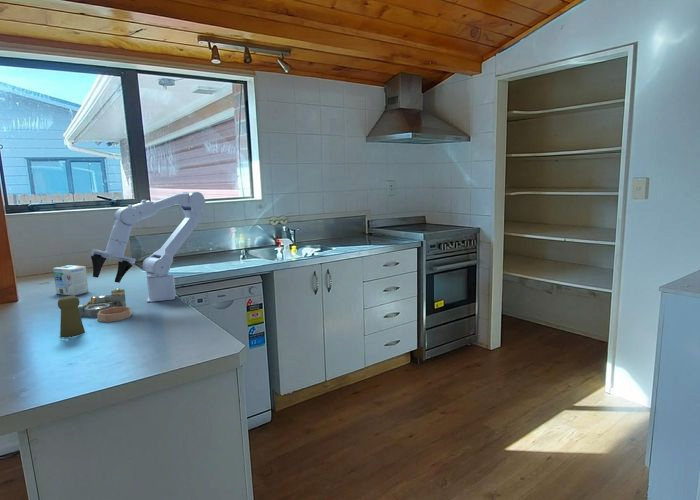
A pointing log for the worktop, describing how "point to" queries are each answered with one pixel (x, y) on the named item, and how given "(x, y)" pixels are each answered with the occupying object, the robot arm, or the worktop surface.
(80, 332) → the cork
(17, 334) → the worktop surface
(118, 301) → the cell
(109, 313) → the cup
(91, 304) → the trough
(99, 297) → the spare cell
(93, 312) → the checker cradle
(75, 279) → the light bulb box
